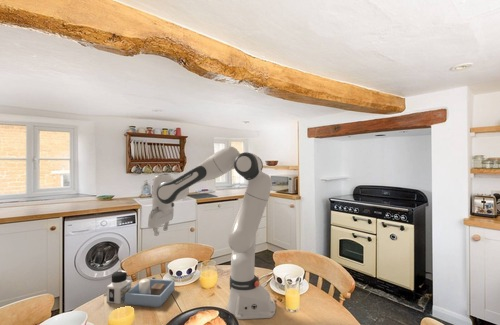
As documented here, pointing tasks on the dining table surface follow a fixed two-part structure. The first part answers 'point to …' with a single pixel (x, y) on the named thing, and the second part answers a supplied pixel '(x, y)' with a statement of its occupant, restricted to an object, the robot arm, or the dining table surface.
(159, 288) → the walnut cube
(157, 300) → the tote
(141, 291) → the cream cylinder
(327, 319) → the dining table surface
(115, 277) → the container
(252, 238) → the robot arm
